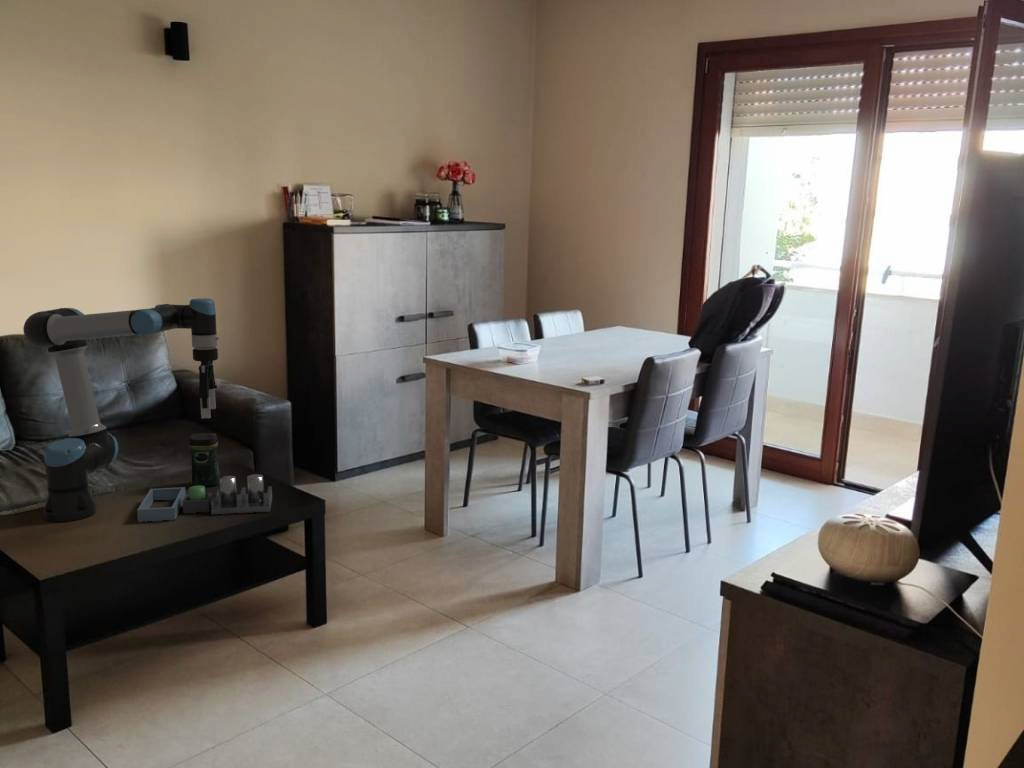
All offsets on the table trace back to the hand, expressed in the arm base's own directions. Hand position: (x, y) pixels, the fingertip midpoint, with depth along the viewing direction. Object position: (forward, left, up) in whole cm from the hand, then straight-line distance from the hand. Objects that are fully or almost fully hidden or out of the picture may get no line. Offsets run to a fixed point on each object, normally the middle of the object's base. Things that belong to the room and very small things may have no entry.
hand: (208, 413), depth 282 cm
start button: (-5, 0, -30) cm, 31 cm away
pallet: (+9, 0, -32) cm, 33 cm away
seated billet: (+5, 0, -30) cm, 30 cm away
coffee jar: (-6, +28, -32) cm, 43 cm away
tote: (-16, +1, -32) cm, 36 cm away
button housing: (-5, 0, -32) cm, 32 cm away
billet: (+13, 0, -30) cm, 33 cm away
